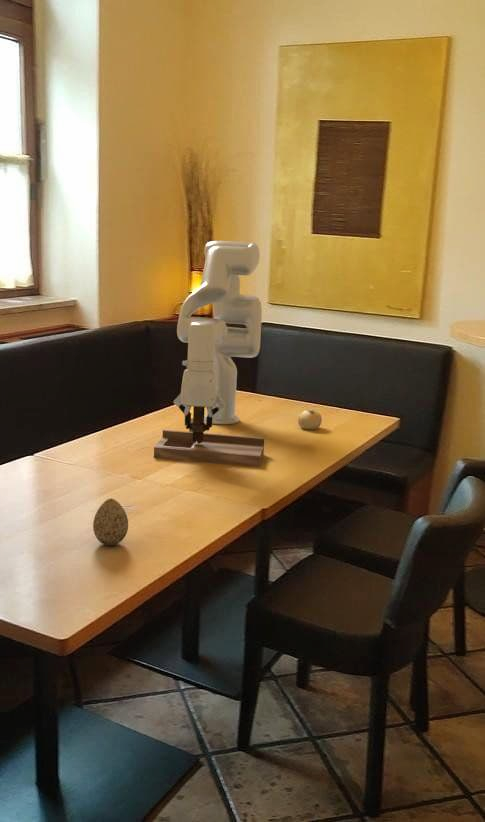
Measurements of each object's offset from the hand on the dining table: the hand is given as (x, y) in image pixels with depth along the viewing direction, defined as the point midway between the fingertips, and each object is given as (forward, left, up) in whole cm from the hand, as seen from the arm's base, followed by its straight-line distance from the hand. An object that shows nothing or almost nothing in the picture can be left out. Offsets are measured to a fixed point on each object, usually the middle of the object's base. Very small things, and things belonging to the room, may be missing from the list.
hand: (198, 427), depth 232 cm
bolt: (0, 0, -4) cm, 4 cm away
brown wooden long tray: (0, +4, -8) cm, 9 cm away
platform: (-18, -4, -9) cm, 21 cm away
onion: (-41, +31, -8) cm, 52 cm away
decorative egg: (+68, -6, -8) cm, 69 cm away
